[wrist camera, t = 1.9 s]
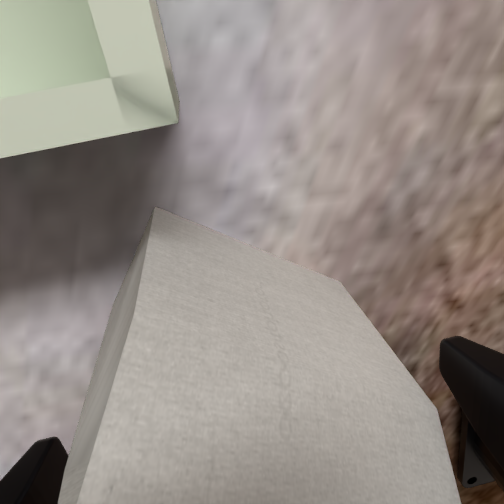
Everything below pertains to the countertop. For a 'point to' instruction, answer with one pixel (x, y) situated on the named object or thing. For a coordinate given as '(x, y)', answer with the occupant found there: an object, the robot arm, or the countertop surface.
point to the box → (81, 72)
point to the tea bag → (247, 388)
